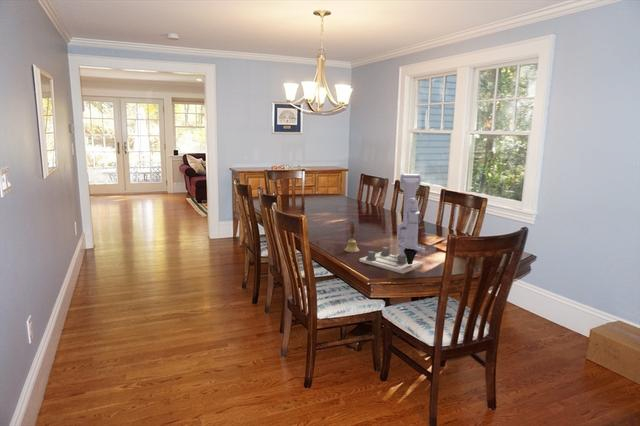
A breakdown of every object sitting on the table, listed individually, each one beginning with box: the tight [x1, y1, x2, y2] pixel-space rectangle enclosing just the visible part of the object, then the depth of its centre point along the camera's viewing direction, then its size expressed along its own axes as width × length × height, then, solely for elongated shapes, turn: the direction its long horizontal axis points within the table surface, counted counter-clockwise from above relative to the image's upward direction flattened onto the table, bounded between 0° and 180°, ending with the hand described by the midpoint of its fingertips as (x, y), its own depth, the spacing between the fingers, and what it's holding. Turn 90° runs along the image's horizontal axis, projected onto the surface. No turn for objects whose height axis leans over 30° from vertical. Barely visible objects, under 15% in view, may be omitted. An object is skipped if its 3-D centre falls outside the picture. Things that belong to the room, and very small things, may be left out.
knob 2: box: [380, 246, 391, 256], centre depth 232 cm, size 4×4×4 cm
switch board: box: [359, 251, 424, 275], centre depth 223 cm, size 18×26×2 cm
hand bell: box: [344, 221, 360, 253], centre depth 244 cm, size 8×8×16 cm
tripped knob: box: [396, 254, 407, 265], centre depth 218 cm, size 4×4×4 cm
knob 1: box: [366, 250, 376, 261], centre depth 223 cm, size 4×4×4 cm
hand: (409, 263), depth 215 cm, fingers closed
